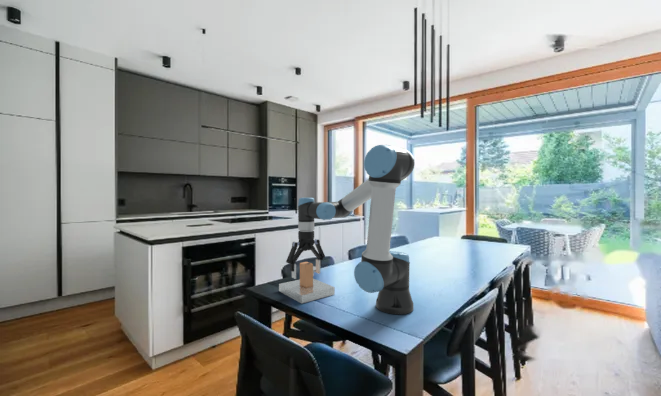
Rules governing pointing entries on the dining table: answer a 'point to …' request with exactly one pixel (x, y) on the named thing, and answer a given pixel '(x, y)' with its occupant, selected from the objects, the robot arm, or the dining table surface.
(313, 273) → the showerhead
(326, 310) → the dining table surface
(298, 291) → the plate
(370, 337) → the dining table surface
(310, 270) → the keyed peg
